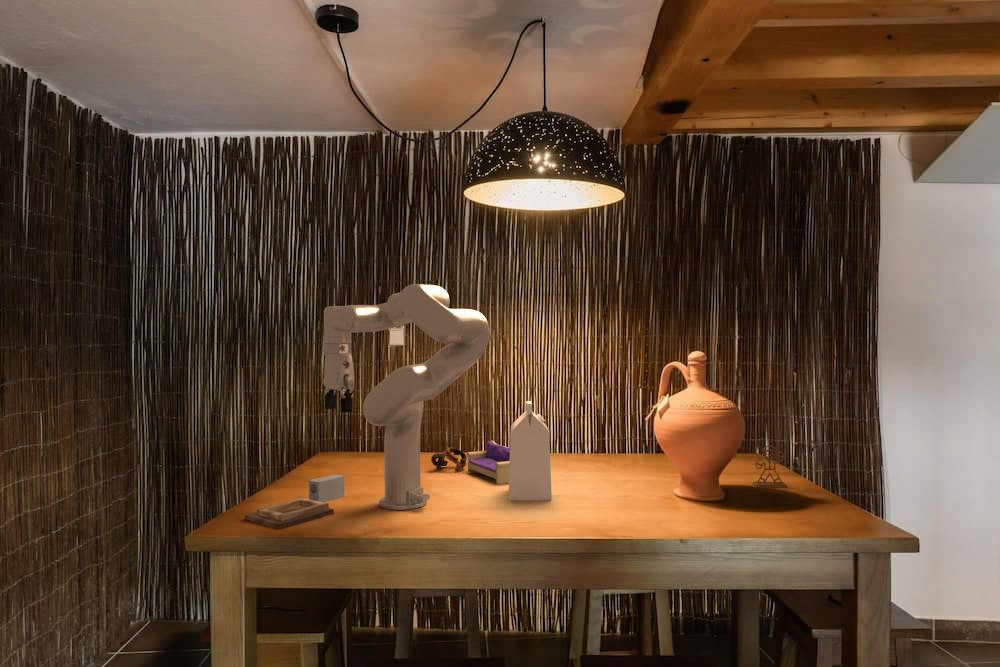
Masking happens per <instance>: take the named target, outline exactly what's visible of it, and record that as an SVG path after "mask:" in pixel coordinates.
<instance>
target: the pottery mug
mask: <svg viewBox="0 0 1000 667" xmlns="http://www.w3.org/2000/svg"><path fill="white" fill-rule="evenodd" d="M452 452H453V453H452ZM457 456H460V460H459V457H457ZM445 459H447V460H445ZM448 460H449V461H450V462H452V463H453V464H455V465H456V466H455V468H454V471H455V472H456V471H459V472H461V470H462V469H464V468H465V467H466V466H467V461H468V456H467V454H465V453H464V452H463V451H462V450H460V449H459V448H456V447H451V446H450V447H447V449H446V450H444V451H442V452H441V453H438V452H437V453H434V454H432V456H431V459H430V461H431V463H432V465H433V466H434V467H436V468H437V469H438V470H441V469H442V467H441V466H446V467H447V465H448V463H449V461H448Z"/></svg>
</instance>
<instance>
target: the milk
mask: <svg viewBox="0 0 1000 667" xmlns="http://www.w3.org/2000/svg"><path fill="white" fill-rule="evenodd" d="M525 407H526V409H525V411H524V412H522V414H521V415H519V417H518V418H517V419H515V420H514V421H513V423H512V424H511V425H510V435H509V438H510V440H509V448H510V462H509V483H508V496H509V497H508V498H509V501H553V499H552V498H553V497H552V496H553V495H552V472H551V471H552V470H551V444H550V443H551V442H550V439H551V438H550V429H549V428H548V426H547V424H546V423H545V422H546V420H545V418H544V417H543V416H542V415H541V414H540V413H538V414H536V413H535V412H533V403H532V401H531V400H527V401H525Z"/></svg>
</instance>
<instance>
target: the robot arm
mask: <svg viewBox="0 0 1000 667" xmlns="http://www.w3.org/2000/svg"><path fill="white" fill-rule="evenodd" d="M450 302H451V300H450V296H449V293H448V292H447V291H446V290H445V289H444V288H443V287H441V286H439V285H435V284H425V283H423V284H422V283H413V284H409V285H407V286H405V287H404V288H403V289H402V290H401V292H397V293H396V292H395V293H393V294H391V295H390V296H388V299H387V302H384V303H380V304H379V303H378V304H372V305H370V304H350V305H349V304H348V305H334V306H333V305H332V306H331V305H330V306H326V307H325V308H324V310H323V355H324V356H325V358H324V374H323V378H322V384H323V390H324V391H323V394H324V409H325V410H333V409H335V410H336V408H337V394H335V393H336V391H337V392H340V395H341V398H340V412H341V413H342V414H343V413H352V412H353V396H354V394H353V393H354V388H355V375H354V374H355V372H354V363H353V361H354V360H353V356H352V333H369V332H370V333H374V332H381V331H386V330H390V329H394V328H397V327H401V326H403V325H408V324H410V323H413V324H414V325H415V326H417V327H418V328H419V329H420V330H422V331H423V332H424V333H425V334H426V335H428V336H429V337H430V338H431V339H433V340H435V341H437V342H439V343H442V344H447V345H445V346H443V347H442V348H440V349H438V351H436V353H434V354H433V355H432V356H431V357H430V358H429V359H427V360H426V361H424V362H422V363H415V364H409V365H404V366H401V367H398V368H396V369H394V370H392V371H391V373H389V374H388V375H387V376H386V377H385V378H384V379H382V380H381V381H380V382H379V383H378V384H377V385H376V386H374V388H372V389H371V390H370V392H369V393H368V394H367V395H366V396H365V398H364V400H363V403H362V404H363V405H362V413H363V414H362V415H363V417H364V419H365V420H366V421H367V422H368V423H370V424H371V425H373V426H377V427H382V426H383V427H386V429H385V432H384V438H383V446H384V447H383V450H384V451H383V455H384V457H383V458H384V459H383V461H384V462H383V463H384V464H383V465H384V466H383V468H384V474H383V475H384V497H382V498H380V499H379V500H378V507H380V508H382V509H386V510H393V511H394V510H395V511H396V510H397V511H404V510H406V511H407V510H413V509H419V508H422V507H424V506H425V505H426V504H427V502H428V501H429V500H430V498H431V495H430V493H424V487H422V486H421V426H422V425H421V424H422V418H423V413H424V402H426V401H430V400H433V399H435V398H437V397H438V396H439V395H440V394H441V393H442V392H443V391H445V390H446V389H447V388H448V387H450V386H451V384H453V383H454V382H455V381H456V380H457V379H458V378H460V377H461V376H462V375H463V374H464V373H466V372H467V371H468V370H469V369H470V368H472V367H473V366H474V365H475V364H476V363H477V362H478V361H480V360H479V359H480V358H482V356H483V354H484V353H485V351H486V349H487V347H488V345H489V341H490V326H489V321H488V320H487V318H486V317H485V315H483V313H482V312H480V311H478V310H475V309H470V308H449V307H450Z"/></svg>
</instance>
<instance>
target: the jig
mask: <svg viewBox="0 0 1000 667" xmlns="http://www.w3.org/2000/svg"><path fill="white" fill-rule="evenodd" d="M331 514H332V515H334V514H335V510H334V508H330V507H329V503H328V502H325V503H324V502H320V501H315V500H310V499H309V498H304V497H301V498H296V499H294V500H289V501H284V502H282V503H278V504H273V505H270V506H264V507H262V508H257V509H256V511H255V512H252V513H248V514H247V513H246V514H244V520H245V519H246V520H245V521H247V520H250V521H249V522H251V521H253V522H252V523H255V522H256V524H258V523H259V525H263V526H267V527H270V528H273V527H274V529H278V530H283V529H285V528H290V527H292V526H296V525H300V524H304V523H307V522H310V521H314V520H317V518H318V519H321V518H324V516H325V517H327V516H331Z"/></svg>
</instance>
